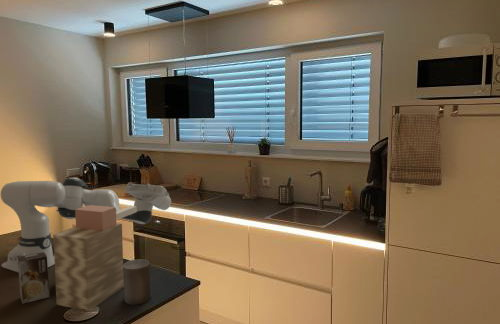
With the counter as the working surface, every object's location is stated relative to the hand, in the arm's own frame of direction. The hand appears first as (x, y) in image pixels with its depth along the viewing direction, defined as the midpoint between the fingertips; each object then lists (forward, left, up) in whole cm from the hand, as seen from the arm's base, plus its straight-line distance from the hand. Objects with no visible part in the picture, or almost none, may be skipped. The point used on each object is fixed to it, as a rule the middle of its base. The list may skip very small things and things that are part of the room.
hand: (138, 184), depth 176 cm
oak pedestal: (+4, -38, -36) cm, 53 cm away
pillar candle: (+22, -35, -37) cm, 55 cm away
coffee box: (-15, -46, -37) cm, 61 cm away
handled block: (+4, -24, -10) cm, 27 cm away
